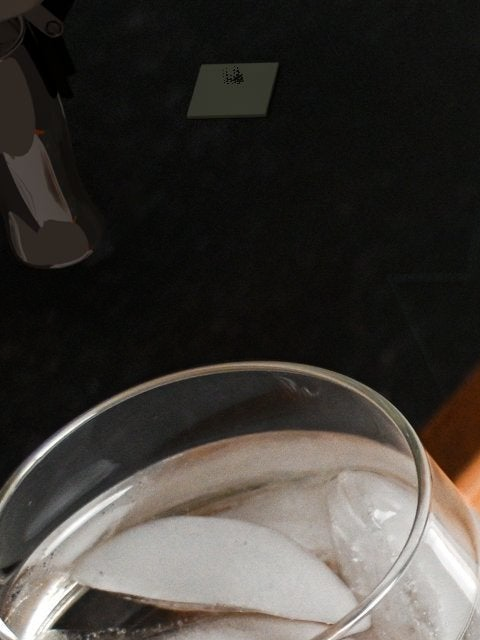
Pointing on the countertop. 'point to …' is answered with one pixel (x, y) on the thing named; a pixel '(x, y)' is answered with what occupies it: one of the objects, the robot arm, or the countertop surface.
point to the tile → (233, 91)
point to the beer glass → (39, 162)
